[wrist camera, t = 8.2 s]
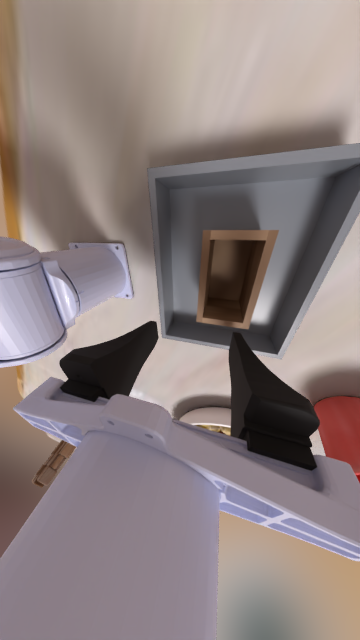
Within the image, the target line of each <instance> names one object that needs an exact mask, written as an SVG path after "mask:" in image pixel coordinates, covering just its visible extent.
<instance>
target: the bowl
mask: <svg viewBox="0 0 360 640" xmlns="http://www.w3.org/2000/svg"><path fill="white" fill-rule="evenodd" d="M179 421H182V422H185V423H188V424H192V425H195V426H198V427H202V428H205V429H208V430H211V431H215V432H218V433H221V434H225V435H228V436H230V433H231V409H229V408H220V407H206V408H199V409H195V410H192V411H190V412H188V413H186V414H185V415H183V416H182V417H181V418H180V419H179Z"/></svg>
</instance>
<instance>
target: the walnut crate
mask: <svg viewBox="0 0 360 640" xmlns="http://www.w3.org/2000/svg"><path fill="white" fill-rule="evenodd" d="M278 232H279V230H203V237H202V251H201V265H200V279H199V292H198V306H197V320H196V322H201V323H208V324H215V325H222V326H228V327H235V328H242V329H249V325H250V322H251V319H252V316H253V313H254V309H255V306H256V303H257V300H258V296H259V293H260V290H261V287H262V284H263V280H264V277H265V274H266V271H267V268H268V264H269V261H270V258H271V255H272V251H273V248H274V245H275V242H276V239H277V235H278Z"/></svg>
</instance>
